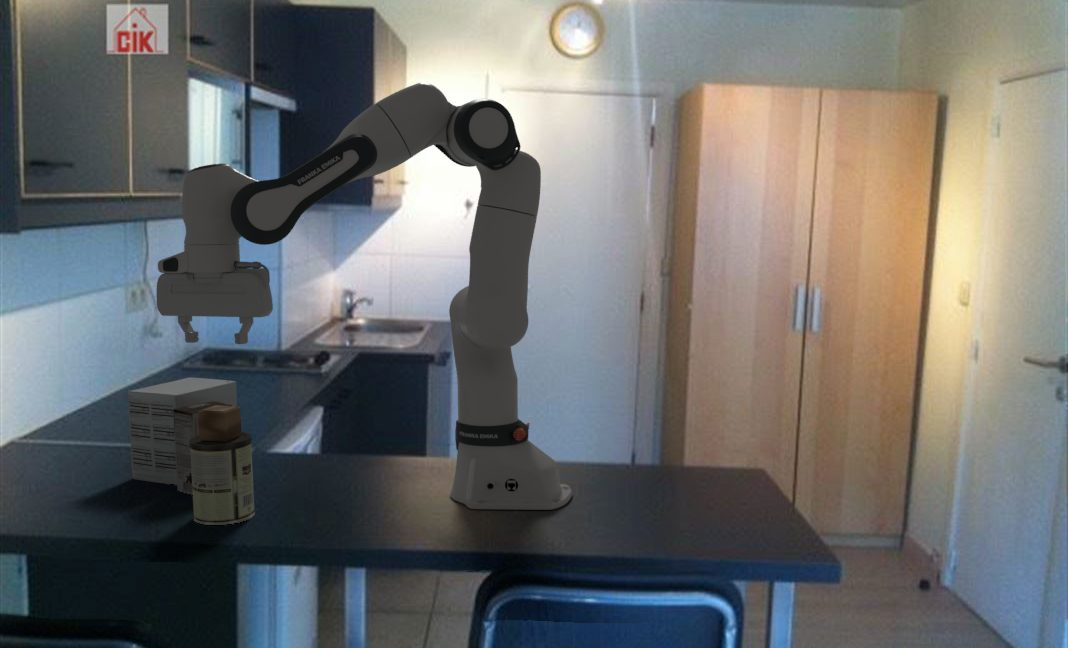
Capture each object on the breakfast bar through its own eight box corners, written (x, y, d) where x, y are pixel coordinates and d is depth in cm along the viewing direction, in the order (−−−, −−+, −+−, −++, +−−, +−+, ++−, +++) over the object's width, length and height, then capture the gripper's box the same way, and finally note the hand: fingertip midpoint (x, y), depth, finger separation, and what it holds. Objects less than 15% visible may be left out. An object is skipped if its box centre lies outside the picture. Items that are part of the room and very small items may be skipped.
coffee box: (216, 481, 191) (213, 400, 189) (237, 486, 187) (233, 404, 185) (175, 491, 183) (171, 408, 181) (196, 497, 180) (192, 411, 178)
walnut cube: (241, 435, 168) (240, 406, 167) (225, 441, 163) (224, 411, 162) (216, 433, 169) (214, 404, 168) (199, 440, 164) (198, 410, 164)
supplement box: (193, 459, 208) (189, 376, 206) (241, 465, 202) (238, 380, 200) (129, 479, 192) (124, 389, 190) (179, 486, 187) (175, 394, 185)
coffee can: (198, 510, 172) (194, 432, 170) (258, 506, 173) (255, 429, 172) (187, 528, 162) (183, 445, 160) (251, 524, 163) (248, 443, 162)
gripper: (278, 260, 163) (281, 341, 165) (171, 260, 168) (175, 339, 170) (258, 262, 157) (262, 346, 159) (148, 262, 162) (153, 344, 164)
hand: (216, 343), depth 164 cm, fingers open, 8 cm apart
